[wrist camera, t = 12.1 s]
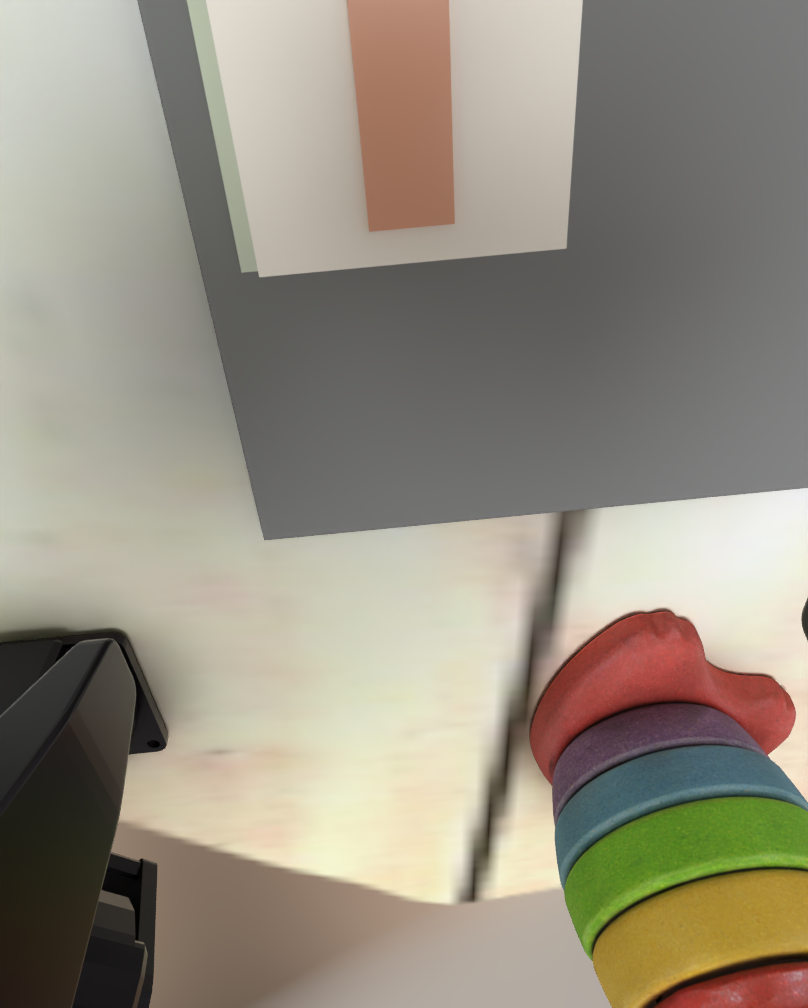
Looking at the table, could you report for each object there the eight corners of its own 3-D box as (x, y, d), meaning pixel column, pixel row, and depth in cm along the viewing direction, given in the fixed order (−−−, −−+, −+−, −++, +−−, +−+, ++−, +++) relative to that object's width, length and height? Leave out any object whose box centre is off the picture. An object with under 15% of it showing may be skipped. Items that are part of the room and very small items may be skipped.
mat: (919, 465, 23) (933, 477, 22) (265, 529, 23) (263, 541, 22) (1366, -547, 11) (1419, -575, 11) (38, -462, 11) (21, -489, 10)
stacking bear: (803, 697, 30) (1233, 1329, 16) (627, 807, 34) (836, 1387, 20) (649, 591, 26) (1050, 1339, 11) (468, 732, 30) (588, 1411, 15)
